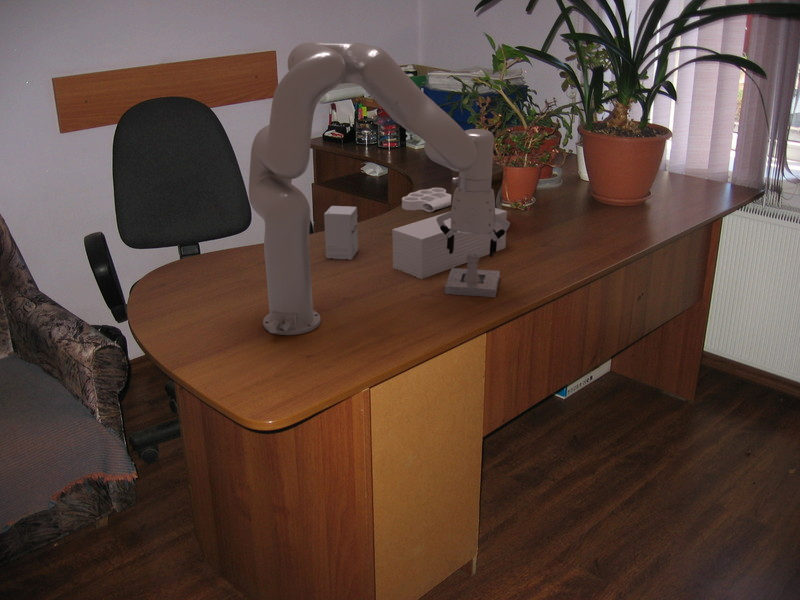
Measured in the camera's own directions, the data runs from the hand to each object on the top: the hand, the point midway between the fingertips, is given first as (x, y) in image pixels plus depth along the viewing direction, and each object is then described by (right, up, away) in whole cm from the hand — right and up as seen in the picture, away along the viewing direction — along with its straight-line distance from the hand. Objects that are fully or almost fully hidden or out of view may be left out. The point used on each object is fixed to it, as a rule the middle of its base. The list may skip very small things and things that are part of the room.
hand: (471, 253), depth 197 cm
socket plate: (+1, -8, +4) cm, 9 cm away
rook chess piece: (0, -8, +4) cm, 9 cm away
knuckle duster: (-8, +19, +66) cm, 69 cm away
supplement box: (-33, +1, +25) cm, 41 cm away
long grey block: (-4, 0, +22) cm, 22 cm away
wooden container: (+5, +10, +44) cm, 45 cm away
